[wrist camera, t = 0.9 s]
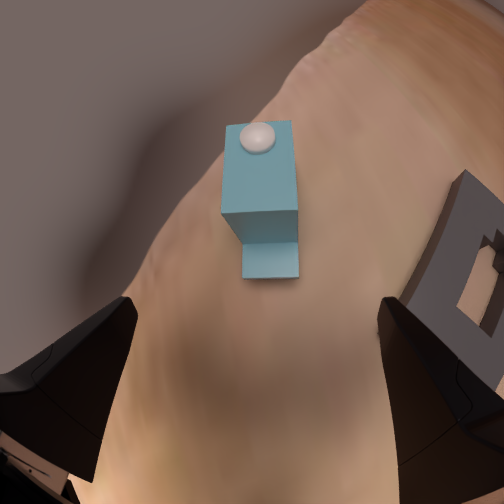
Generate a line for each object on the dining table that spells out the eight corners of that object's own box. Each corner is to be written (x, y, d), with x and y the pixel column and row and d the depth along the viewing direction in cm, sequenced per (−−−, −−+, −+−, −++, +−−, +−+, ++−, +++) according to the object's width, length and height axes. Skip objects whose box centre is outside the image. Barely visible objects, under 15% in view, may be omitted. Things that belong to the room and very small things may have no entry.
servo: (298, 283, 23) (300, 255, 12) (251, 284, 23) (215, 257, 13) (293, 168, 25) (287, 87, 15) (252, 170, 26) (226, 93, 16)
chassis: (469, 401, 17) (485, 407, 14) (377, 333, 20) (388, 335, 18) (528, 255, 19) (543, 249, 16) (452, 182, 22) (465, 169, 19)
